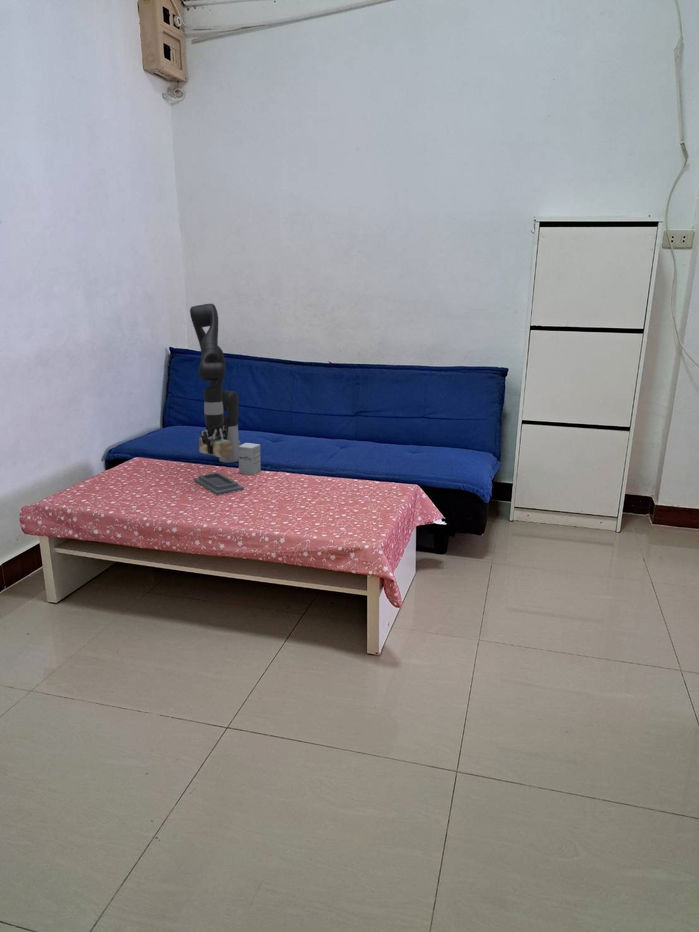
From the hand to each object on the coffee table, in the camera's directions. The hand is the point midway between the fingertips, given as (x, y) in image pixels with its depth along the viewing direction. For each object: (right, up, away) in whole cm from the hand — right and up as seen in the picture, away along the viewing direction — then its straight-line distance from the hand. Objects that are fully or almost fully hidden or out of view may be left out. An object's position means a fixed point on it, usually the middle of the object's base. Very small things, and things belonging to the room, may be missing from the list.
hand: (215, 452), depth 272 cm
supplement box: (+11, -9, +23) cm, 27 cm away
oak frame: (0, -1, 0) cm, 1 cm away
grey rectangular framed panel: (0, -14, +4) cm, 14 cm away
